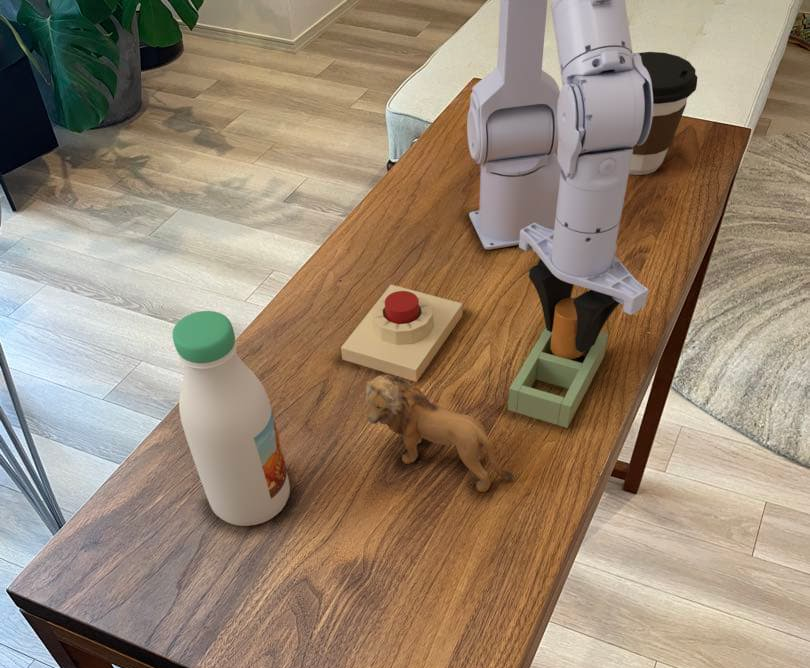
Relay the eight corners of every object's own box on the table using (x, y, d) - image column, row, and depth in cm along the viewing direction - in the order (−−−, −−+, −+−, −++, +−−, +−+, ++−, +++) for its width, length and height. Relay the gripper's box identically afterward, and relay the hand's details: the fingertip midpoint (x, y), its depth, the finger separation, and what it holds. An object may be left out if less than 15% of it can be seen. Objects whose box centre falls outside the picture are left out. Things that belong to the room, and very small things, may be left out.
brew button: (394, 300, 91) (394, 287, 90) (424, 309, 90) (424, 295, 89) (379, 320, 89) (378, 306, 88) (410, 328, 88) (409, 315, 87)
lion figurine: (360, 462, 81) (352, 394, 74) (381, 425, 84) (374, 356, 77) (505, 500, 77) (511, 432, 70) (521, 460, 80) (528, 391, 73)
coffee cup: (687, 151, 113) (709, 57, 104) (666, 191, 107) (687, 96, 98) (609, 136, 116) (623, 44, 107) (584, 175, 111) (597, 81, 101)
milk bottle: (257, 541, 76) (207, 374, 60) (193, 508, 78) (128, 340, 63) (307, 485, 80) (272, 314, 64) (244, 456, 82) (195, 285, 66)
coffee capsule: (547, 356, 85) (552, 317, 81) (553, 334, 87) (558, 294, 83) (582, 362, 85) (589, 322, 81) (587, 339, 87) (594, 299, 83)
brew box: (391, 296, 97) (389, 270, 94) (462, 315, 94) (462, 289, 91) (342, 359, 90) (338, 334, 88) (416, 382, 88) (415, 356, 85)
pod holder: (604, 356, 89) (608, 333, 87) (567, 428, 83) (570, 406, 80) (547, 340, 91) (550, 318, 88) (507, 410, 85) (509, 388, 82)
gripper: (682, 231, 72) (651, 354, 83) (560, 167, 79) (547, 288, 90) (627, 264, 70) (603, 386, 80) (507, 195, 77) (499, 316, 87)
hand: (570, 336), depth 85 cm, fingers closed on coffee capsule, 4 cm apart
